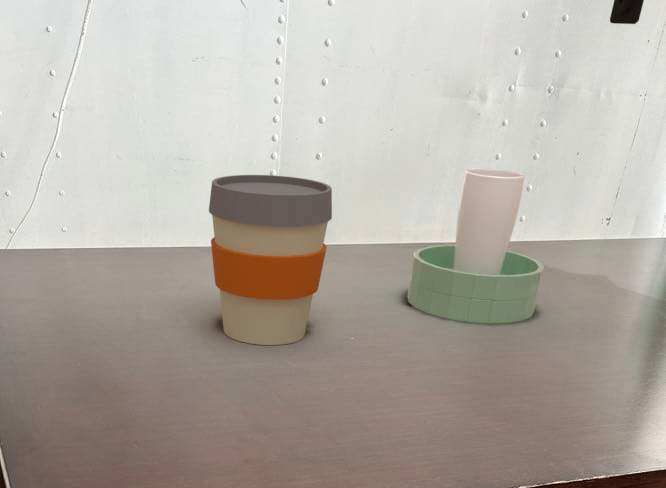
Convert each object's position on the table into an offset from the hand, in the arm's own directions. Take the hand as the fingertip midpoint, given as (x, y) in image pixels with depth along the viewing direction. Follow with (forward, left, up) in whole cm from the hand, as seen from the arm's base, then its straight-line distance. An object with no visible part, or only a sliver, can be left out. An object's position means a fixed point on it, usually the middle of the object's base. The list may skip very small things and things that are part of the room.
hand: (659, 26), depth 81 cm
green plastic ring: (+13, -3, -30) cm, 33 cm away
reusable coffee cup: (+37, +12, -31) cm, 49 cm away
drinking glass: (+13, -3, -30) cm, 33 cm away
